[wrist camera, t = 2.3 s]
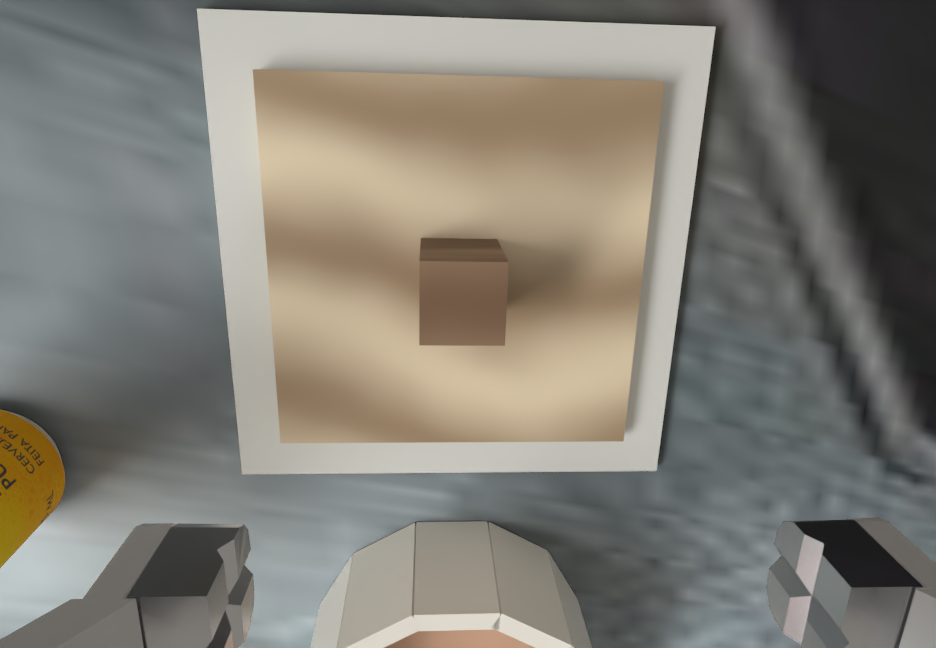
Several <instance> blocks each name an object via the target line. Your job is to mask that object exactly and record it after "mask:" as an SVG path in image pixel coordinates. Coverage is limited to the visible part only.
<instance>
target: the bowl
mask: <svg viewBox="0 0 936 648" xmlns="http://www.w3.org/2000/svg"><path fill="white" fill-rule="evenodd" d="M310 648H592V646H591V643H590V639H589V636H588V633H587V629H586V626H585V623H584V619H583V616H582V613H581V609H580V606H579V603H578V599H577V598H576V596H575V594H574V593H573V591H572V589H571V588H570V586H569V584H568V583H567V581H566V580H565V578H564V576H563V575H562V573H561V571H560V570H559V568H558V567H557V565H556V563H555V562H554V560H553V558H552V557H551V555H550V554H549V552H548V551H547V550H546V549H544V548H542V547H539V546H537V545H535V544H533V543H531V542H529V541H527V540H525V539H523V538H521V537H519V536H517V535H515V534H513V533H511V532H509V531H507V530H505V529H503V528H501V527H499V526H497V525H495V524H493V523H491V522H488V523H487V521H468V522H416V524H415V523H413V524H411V525H409V526H407V527H405V528H403V529H401V530H399V531H397V532H395V533H393V534H391V535H389V536H387V537H385V538H383V539H381V540H379V541H377V542H375V543H373V544H371V545H369V546H367V547H365V548H363V549H361V550H359V551H357V552H355V553H354V555H353V554H352V556H351V557H350V559H349V561H348V562H347V564H346V565H345V567H344V568H343V570H342V571H341V573H340V574H339V576H338V577H337V579H336V580H335V582H334V584H333V585H332V587H331V588H330V590H329V591H328V593H327V594H326V596H325V597H324V599H323V600H322V602H321V603H320V606H319V611H318V615H317V620H316V624H315V629H314V633H313V638H312V643H311V647H310Z"/></svg>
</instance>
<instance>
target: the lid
mask: <svg viewBox="0 0 936 648" xmlns="http://www.w3.org/2000/svg"><path fill="white" fill-rule="evenodd" d="M253 80H254V94H255V107H256V121H257V134H258V148H259V161H260V174H261V188H262V201H263V215H264V228H265V242H266V255H267V269H268V282H269V295H270V309H271V322H272V336H273V349H274V363H275V376H276V390H277V403H278V416H279V430H280V443H415V442H599V441H624V433H625V424H626V415H627V407H628V398H629V389H630V380H631V371H632V362H633V354H634V345H635V336H636V327H637V318H638V310H639V301H640V292H641V283H642V274H643V265H644V257H645V248H646V239H647V230H648V221H649V212H650V204H651V195H652V186H653V177H654V168H655V159H656V151H657V142H658V133H659V124H660V115H661V106H662V98H663V89H664V81H637V80H603V79H569V78H535V77H501V76H467V75H433V74H399V73H365V72H331V71H297V70H263V69H253Z"/></svg>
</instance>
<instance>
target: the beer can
mask: <svg viewBox="0 0 936 648" xmlns="http://www.w3.org/2000/svg"><path fill="white" fill-rule="evenodd" d="M64 488H65V471H64V466H63V463H62V459H61V455H60V453H59V450H58V448H57V446H56V444H55V443H54V441H53V440H52V438H51V437H50V436H49V435H48V434H47V433H46V432H45V431H44V430H43V429H42V428H41V427H40V426H39V425H37V424H36V423H34V422H33V421H31V420H29V419H28V418H26V417H24V416H21V415H19V414H16V413H13V412H9V411H4V410H0V568H1V567H2V566H3V565H4V563H5V562H6V561H7V560H8V559H9V558H10V557H11V556H12V555H13V554H14V553H15V552H16V550H17V549H18V548H19V547H20V546H21V545H22V544H23V543H24V542H25V541H26V540H27V539H28V537H29V536H30V535H31V534H32V533H33V532H34V531H35V530H36V529H37V528H38V527H39V526H40V525H41V523H42V522H43V521H44V520H45V519H46V518H47V517H48V516H49V515H50V514H51V513H52V512H53V510H54V509H55V508H56V507H57V505H58V504H59V502H60V500H61V498H62V495H63V492H64Z"/></svg>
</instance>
